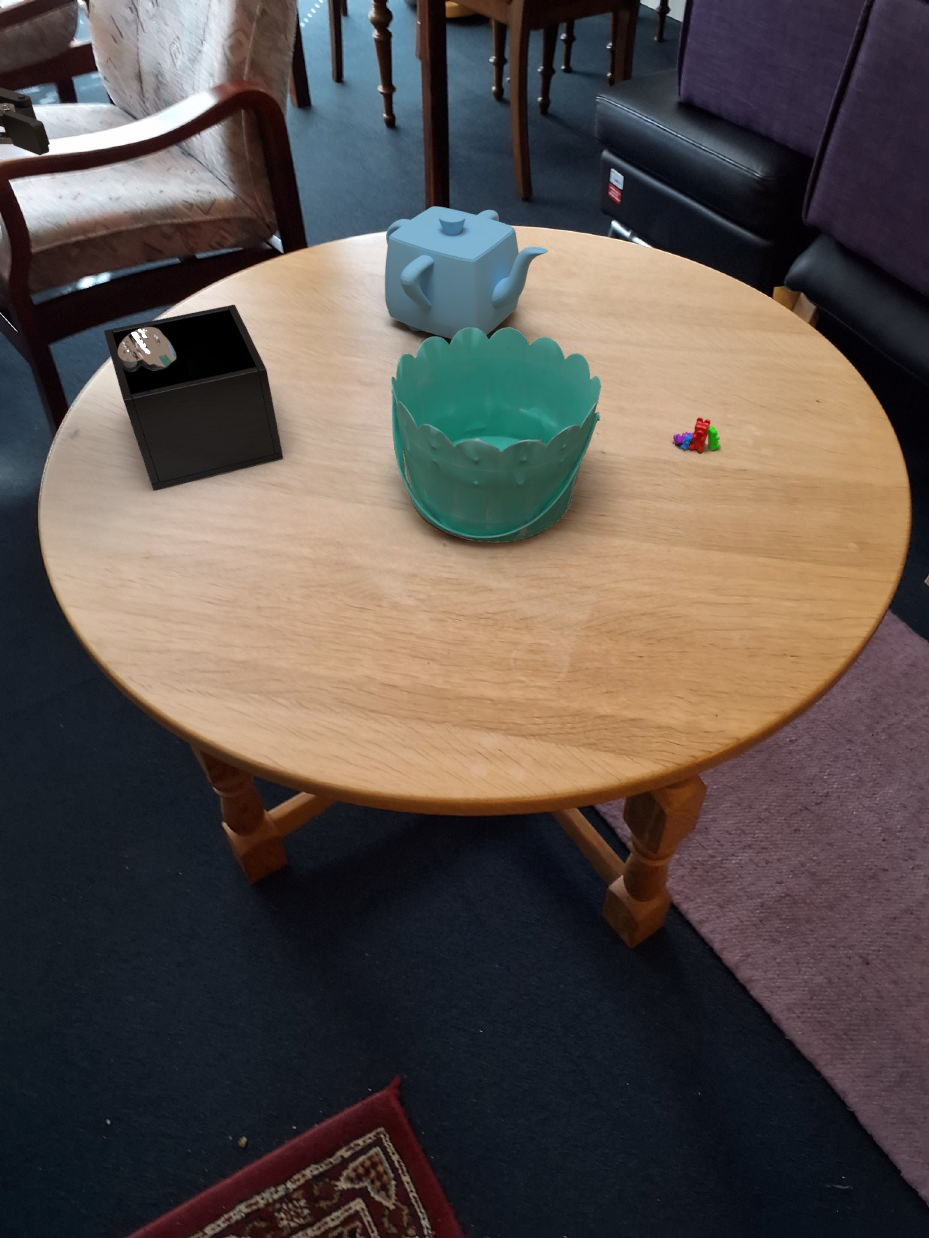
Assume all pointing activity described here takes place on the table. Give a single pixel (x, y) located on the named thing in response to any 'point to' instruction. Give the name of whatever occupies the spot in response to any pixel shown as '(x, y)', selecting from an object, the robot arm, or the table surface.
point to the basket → (492, 432)
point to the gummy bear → (699, 436)
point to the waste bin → (202, 401)
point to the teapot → (454, 271)
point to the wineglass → (152, 360)
